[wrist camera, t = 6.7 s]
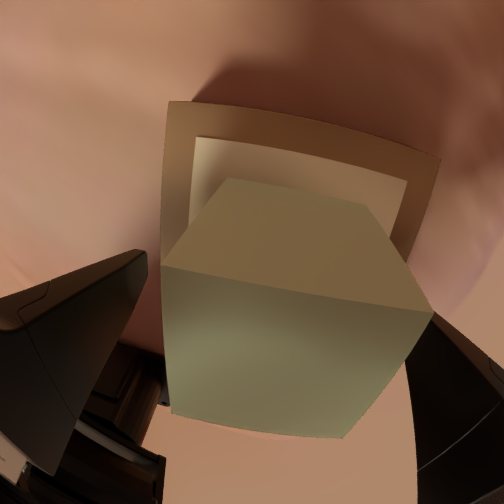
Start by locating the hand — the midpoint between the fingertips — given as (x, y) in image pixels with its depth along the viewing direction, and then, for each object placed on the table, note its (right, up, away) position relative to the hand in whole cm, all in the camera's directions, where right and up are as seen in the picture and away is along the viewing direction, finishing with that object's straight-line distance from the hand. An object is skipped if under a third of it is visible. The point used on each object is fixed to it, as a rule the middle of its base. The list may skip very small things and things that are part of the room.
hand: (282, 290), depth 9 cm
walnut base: (+1, +2, +4) cm, 5 cm away
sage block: (0, +1, +2) cm, 2 cm away
